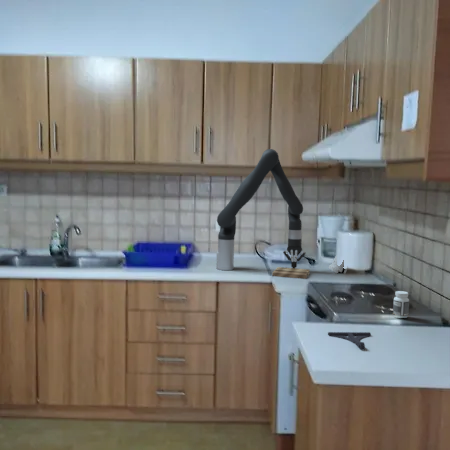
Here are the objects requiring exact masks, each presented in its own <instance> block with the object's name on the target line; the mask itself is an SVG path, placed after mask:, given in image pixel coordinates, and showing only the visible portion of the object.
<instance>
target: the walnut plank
mask: <svg viewBox="0 0 450 450" xmlns="http://www.w3.org/2000/svg"><path fill="white" fill-rule="evenodd" d="M271 274H272V277H278V278H279V277H280V278H290V279H291V278H293V279H301V280H302V279H304V280H306V279H307V278H308V276H309V275H308V272H297V271H284V270H276V269H274V271H273V272H272V273H271Z"/></svg>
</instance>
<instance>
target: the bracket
mask: <svg viewBox="0 0 450 450" xmlns="http://www.w3.org/2000/svg"><path fill="white" fill-rule="evenodd" d="M327 335H328V336H329V337H332V338H339V339H343V340H346V341H349V342H351V343H354V345H356V347H357V348H358V349H359V350H360V351H365V350H366V345H365V342H363V341H360V340H362V339H366V338H370V337H371V336H372V334H371V332H370V331H367V332H363V331H360V332H357V331H355V332H354V331H353V332H351V331H350V332H347V331H346V332H343V331H342V332H339V331H337V332H335V331H334V332H333V331H330V332H329V331H328V332H327Z"/></svg>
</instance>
